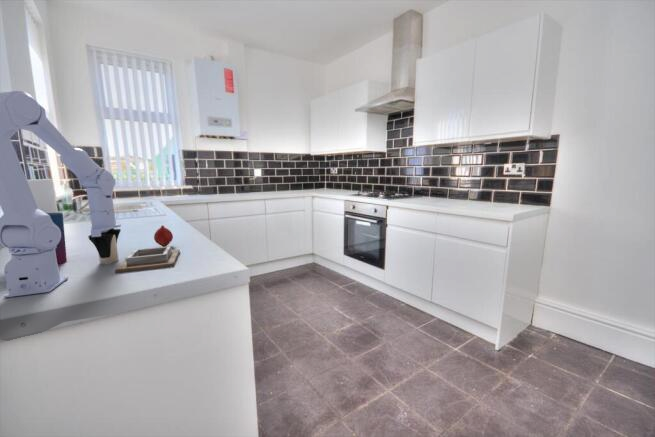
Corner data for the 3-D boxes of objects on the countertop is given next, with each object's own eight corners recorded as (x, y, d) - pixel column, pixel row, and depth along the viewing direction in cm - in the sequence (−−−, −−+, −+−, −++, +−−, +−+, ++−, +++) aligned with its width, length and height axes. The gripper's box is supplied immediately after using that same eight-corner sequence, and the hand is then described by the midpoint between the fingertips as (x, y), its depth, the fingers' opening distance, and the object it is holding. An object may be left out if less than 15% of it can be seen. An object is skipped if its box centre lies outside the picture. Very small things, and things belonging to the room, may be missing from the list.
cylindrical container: (46, 260, 90) (31, 179, 86) (28, 259, 91) (13, 180, 87) (70, 254, 97) (58, 179, 93) (54, 253, 98) (40, 179, 94)
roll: (116, 262, 87) (112, 236, 85) (97, 264, 85) (93, 238, 84) (120, 258, 91) (117, 233, 90) (103, 260, 89) (99, 235, 88)
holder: (173, 266, 83) (172, 256, 82) (115, 273, 78) (113, 262, 77) (179, 252, 98) (178, 243, 97) (131, 256, 93) (130, 247, 92)
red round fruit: (151, 247, 103) (149, 226, 102) (167, 244, 109) (164, 223, 107) (161, 249, 101) (159, 227, 100) (177, 245, 106) (174, 224, 105)
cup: (76, 259, 90) (68, 212, 88) (54, 266, 84) (45, 215, 81) (57, 259, 91) (48, 212, 89) (33, 266, 84) (23, 215, 82)
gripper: (110, 213, 80) (116, 260, 83) (125, 207, 94) (130, 247, 96) (78, 215, 78) (86, 263, 80) (98, 208, 91) (104, 250, 93)
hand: (108, 255), depth 88 cm, fingers closed on roll, 5 cm apart
